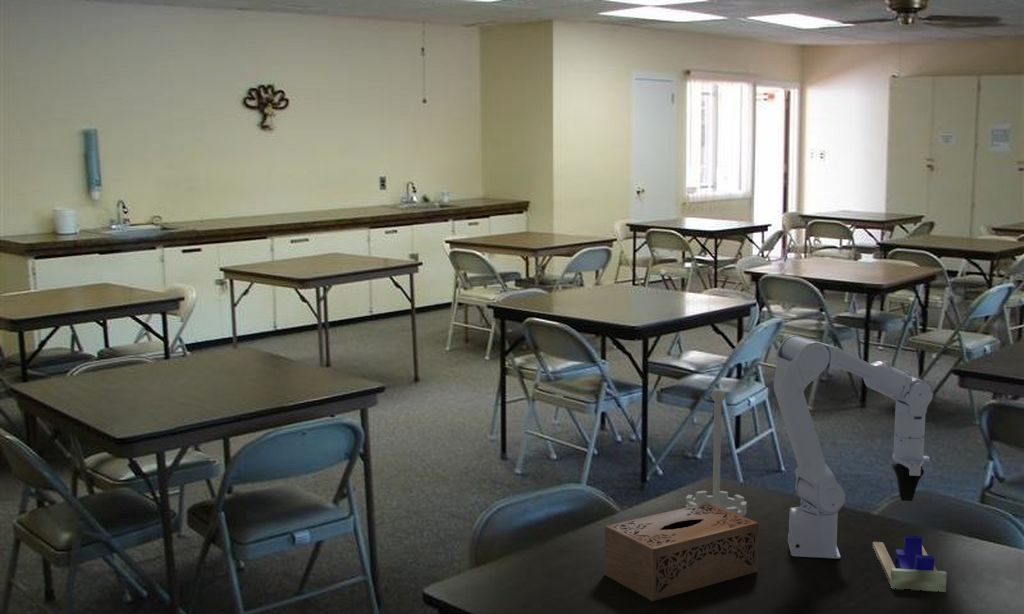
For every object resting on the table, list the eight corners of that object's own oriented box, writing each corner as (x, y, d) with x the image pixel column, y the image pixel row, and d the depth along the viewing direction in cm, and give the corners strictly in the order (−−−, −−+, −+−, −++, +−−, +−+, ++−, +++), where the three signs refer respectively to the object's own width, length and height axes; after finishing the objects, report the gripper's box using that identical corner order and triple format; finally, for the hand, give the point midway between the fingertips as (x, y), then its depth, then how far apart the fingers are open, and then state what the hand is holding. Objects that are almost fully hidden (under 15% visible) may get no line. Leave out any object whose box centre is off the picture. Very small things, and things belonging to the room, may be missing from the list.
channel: (891, 588, 192) (892, 570, 192) (872, 547, 213) (873, 530, 212) (945, 592, 190) (946, 573, 190) (921, 550, 211) (922, 533, 211)
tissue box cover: (706, 549, 213) (707, 502, 212) (757, 572, 201) (758, 522, 199) (604, 576, 200) (604, 525, 198) (652, 602, 187) (652, 549, 186)
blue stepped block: (895, 564, 204) (896, 534, 204) (919, 565, 204) (920, 535, 203) (907, 588, 193) (908, 557, 192) (932, 589, 192) (934, 558, 191)
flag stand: (752, 533, 221) (755, 395, 217) (690, 533, 221) (692, 395, 217) (739, 513, 234) (742, 382, 230) (681, 513, 234) (683, 382, 230)
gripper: (938, 445, 204) (934, 512, 205) (922, 427, 218) (919, 489, 220) (900, 444, 205) (897, 510, 207) (887, 425, 219) (884, 488, 221)
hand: (906, 499), depth 213 cm, fingers closed
